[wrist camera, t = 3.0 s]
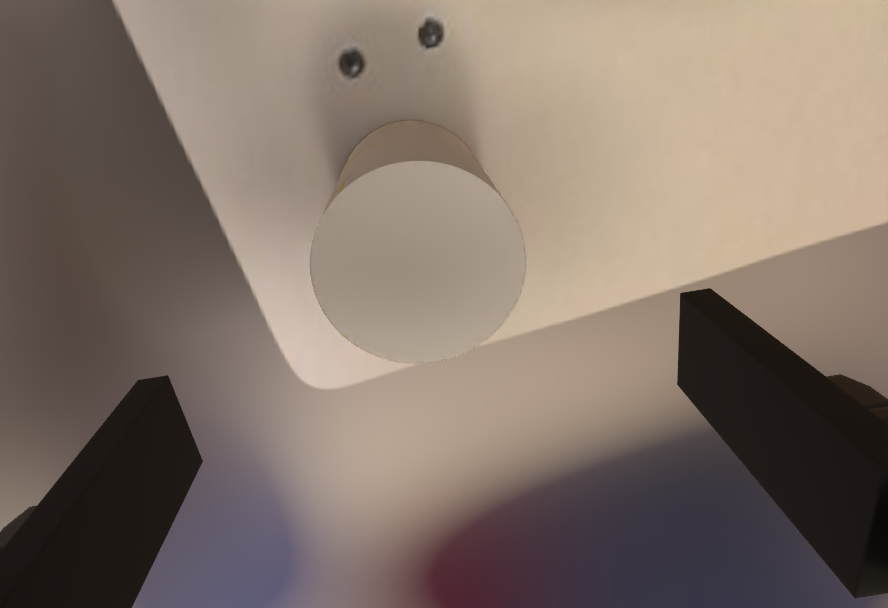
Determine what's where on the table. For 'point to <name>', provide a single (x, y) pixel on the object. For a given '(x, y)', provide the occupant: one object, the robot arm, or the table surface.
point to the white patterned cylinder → (416, 247)
